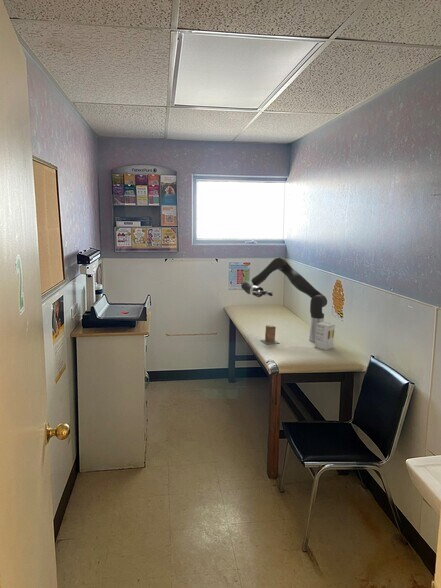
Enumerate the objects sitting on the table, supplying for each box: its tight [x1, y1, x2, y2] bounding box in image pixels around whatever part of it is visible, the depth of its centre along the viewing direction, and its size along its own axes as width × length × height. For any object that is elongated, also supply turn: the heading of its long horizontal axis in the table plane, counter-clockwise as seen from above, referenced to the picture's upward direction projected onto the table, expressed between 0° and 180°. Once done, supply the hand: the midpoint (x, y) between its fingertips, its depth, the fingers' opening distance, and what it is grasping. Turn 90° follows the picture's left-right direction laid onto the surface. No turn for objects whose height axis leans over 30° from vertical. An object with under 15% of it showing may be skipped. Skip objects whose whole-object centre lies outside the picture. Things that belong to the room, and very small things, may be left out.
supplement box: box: [314, 321, 336, 351], centre depth 297 cm, size 10×9×17 cm
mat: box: [260, 339, 280, 345], centre depth 306 cm, size 10×10×1 cm
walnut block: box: [264, 324, 276, 343], centre depth 305 cm, size 5×5×11 cm
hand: (266, 294), depth 310 cm, fingers open, 8 cm apart
